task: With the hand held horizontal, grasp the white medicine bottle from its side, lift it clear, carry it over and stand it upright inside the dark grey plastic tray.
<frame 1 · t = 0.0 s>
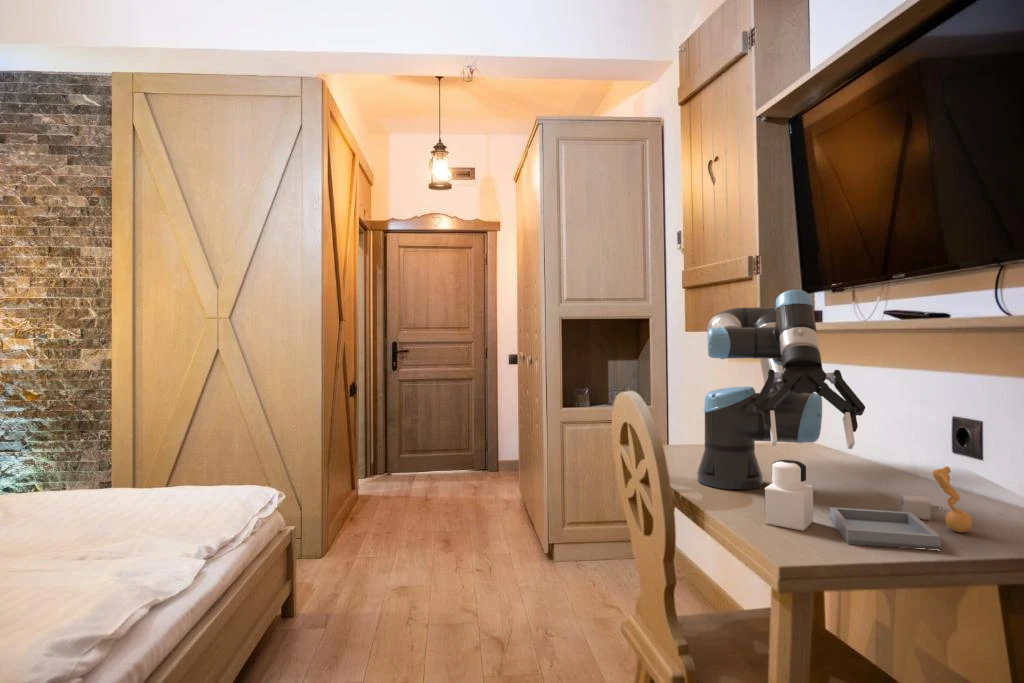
hand: (812, 444, 117), 15 cm above the table, tool tilted 35°, fingers open, 13 cm apart
medicine bottle: (789, 524, 117), on the table
tray: (880, 534, 110), on the table
usb wall charger: (923, 519, 120), on the table
figurine: (952, 532, 111), on the table
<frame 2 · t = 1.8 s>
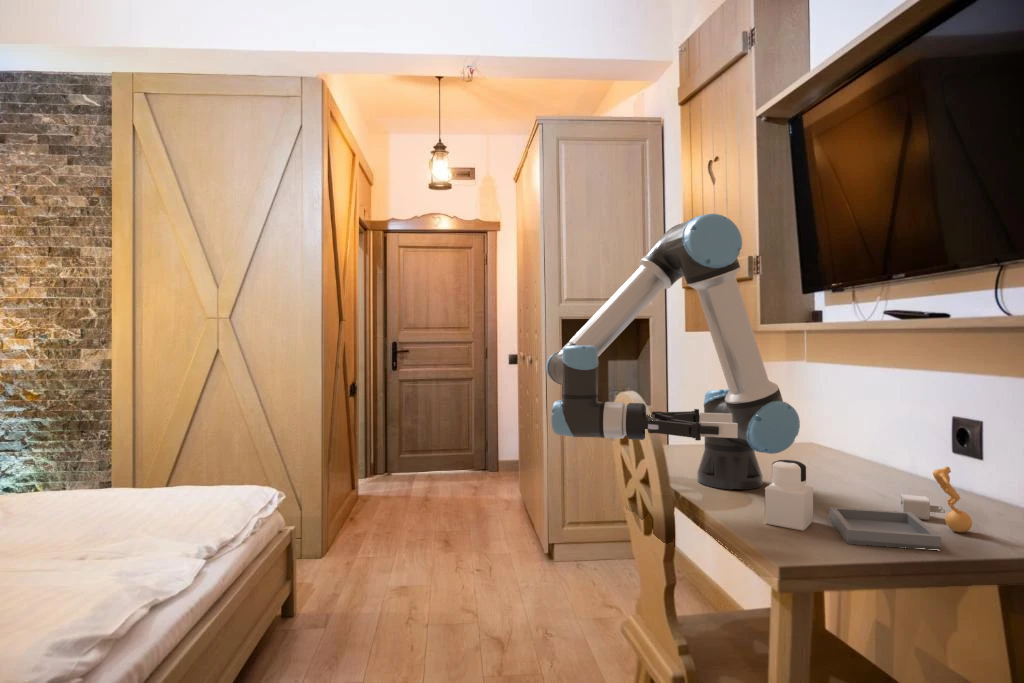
hand: (734, 425, 120), 19 cm above the table, tool horizontal, fingers open, 13 cm apart
nothing on the table moved.
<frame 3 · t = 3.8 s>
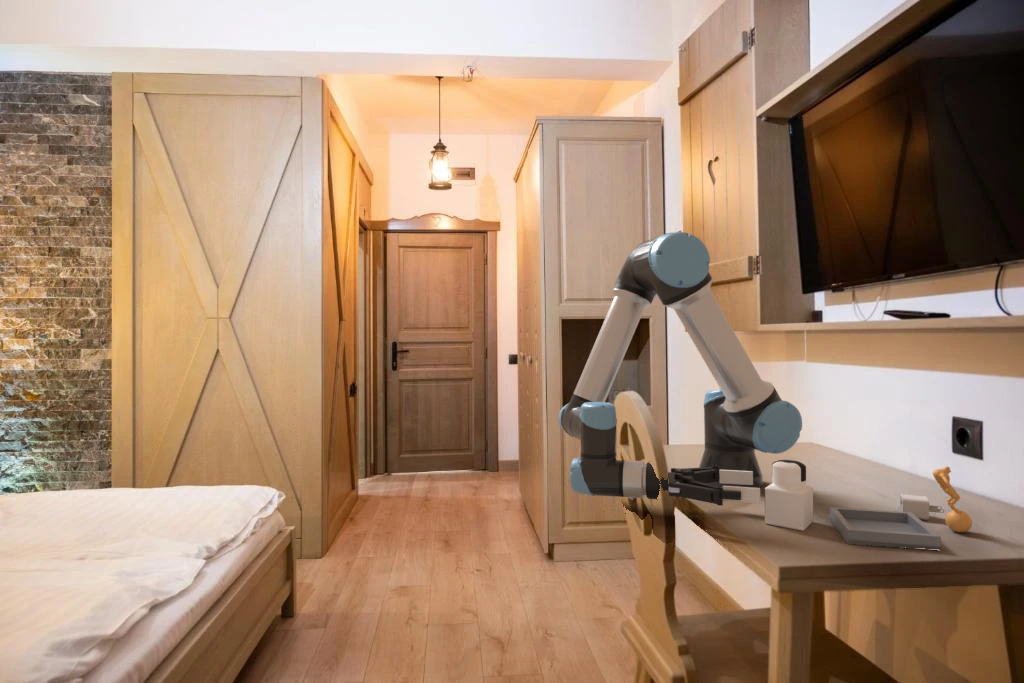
hand: (756, 486, 118), 7 cm above the table, tool horizontal, fingers open, 13 cm apart
nothing on the table moved.
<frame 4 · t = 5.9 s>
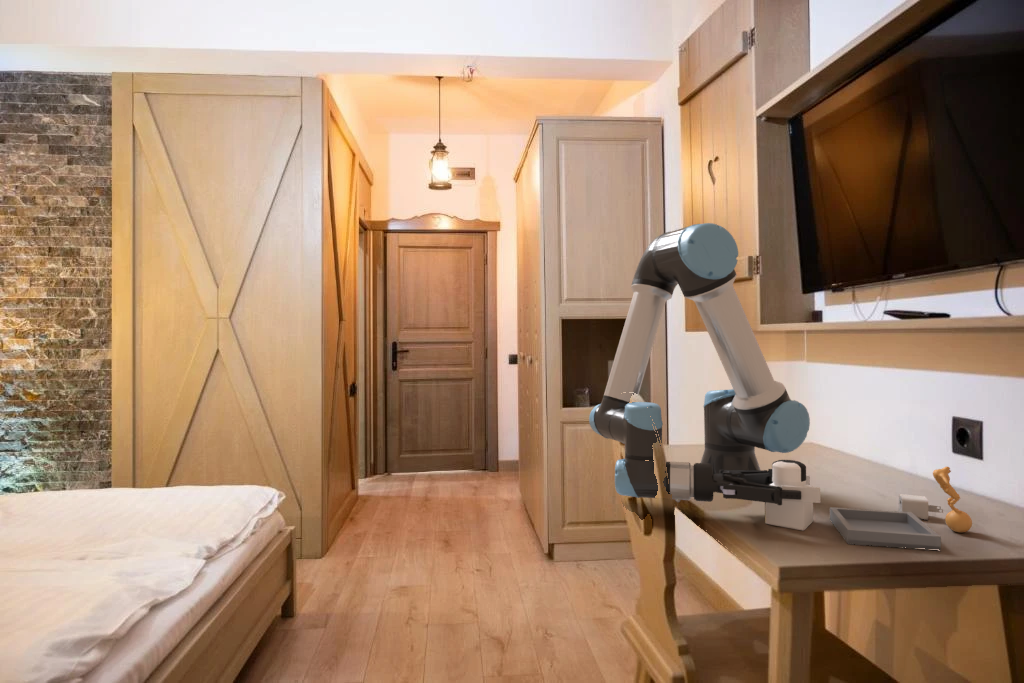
hand: (814, 488, 116), 7 cm above the table, tool horizontal, fingers closed on medicine bottle, 9 cm apart
medicine bottle: (789, 523, 117), on the table, touching gripper
everything else where it was.
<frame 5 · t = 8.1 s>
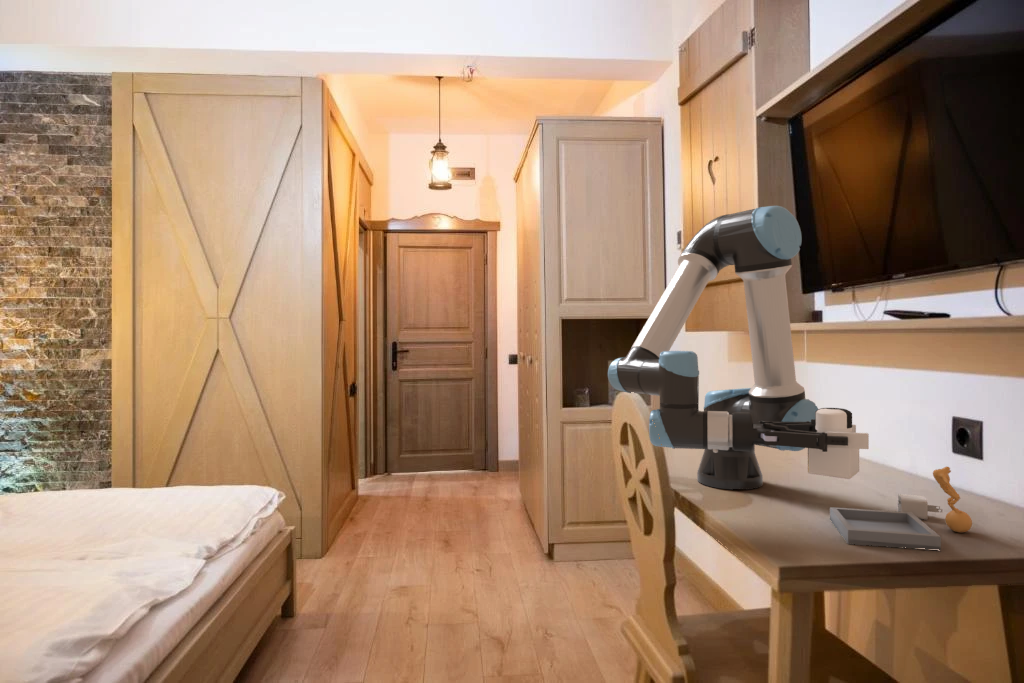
hand: (861, 436, 110), 18 cm above the table, tool horizontal, fingers closed on medicine bottle, 9 cm apart
medicine bottle: (833, 474, 112), point 11 cm above the table, touching gripper
everything else where it was.
when the fingers open (9 cm above the table, at t = 10.6 s): medicine bottle drops 2 cm, resting on tray.
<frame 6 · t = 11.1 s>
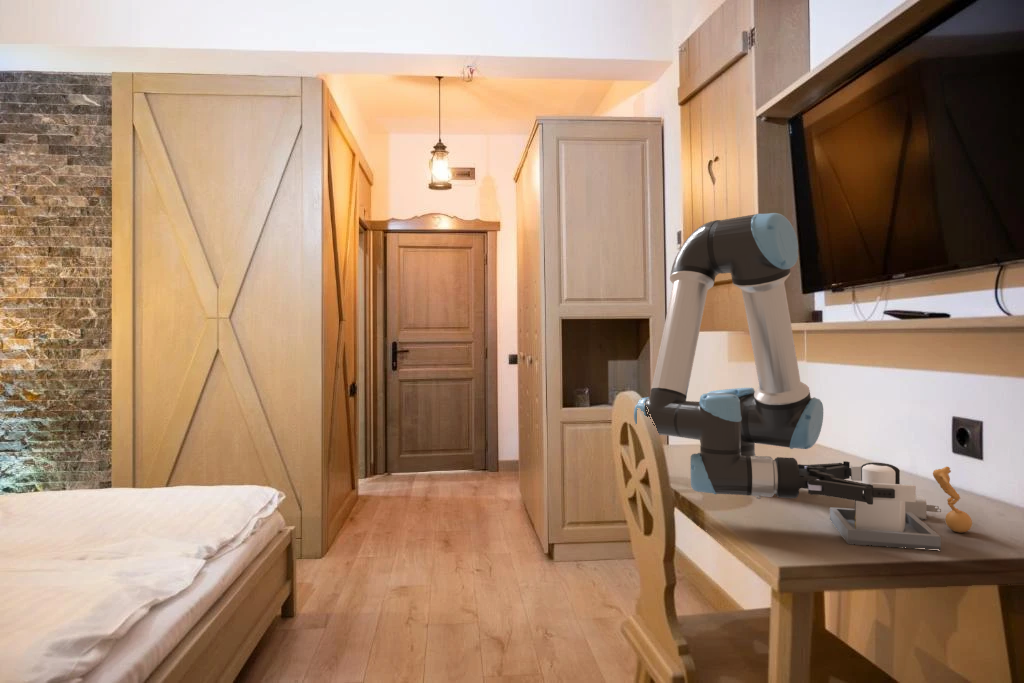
hand: (901, 483, 109), 9 cm above the table, tool horizontal, fingers open, 13 cm apart
medicine bottle: (880, 530, 110), point 1 cm above the table, touching tray
everything else where it was.
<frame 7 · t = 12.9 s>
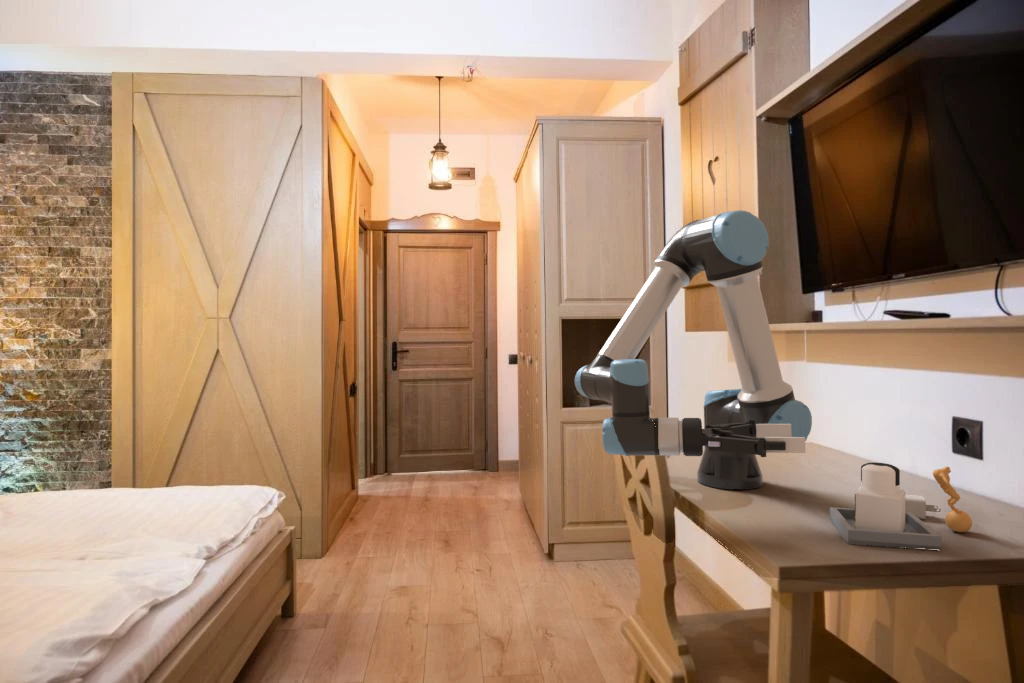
hand: (797, 437, 114), 17 cm above the table, tool horizontal, fingers open, 13 cm apart
nothing on the table moved.
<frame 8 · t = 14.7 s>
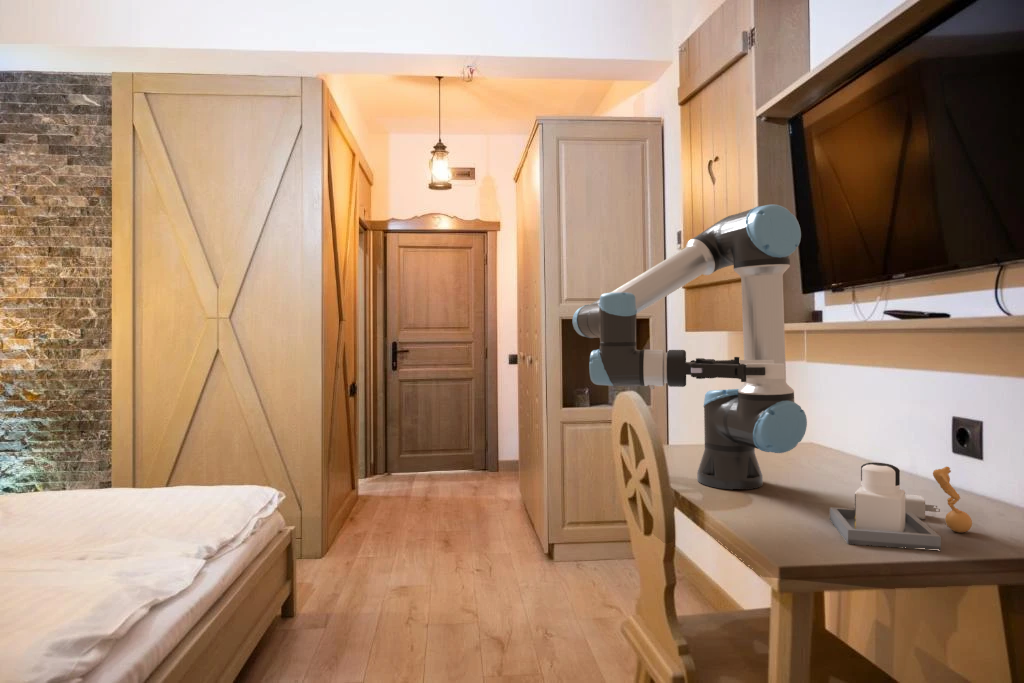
hand: (779, 368, 117), 30 cm above the table, tool horizontal, fingers open, 13 cm apart
nothing on the table moved.
at the end: medicine bottle inside the target area on the tray (0.1 cm from its centre), point 0.6 cm above the tray's base; medicine bottle tilted 0°; the gripper is holding nothing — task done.
